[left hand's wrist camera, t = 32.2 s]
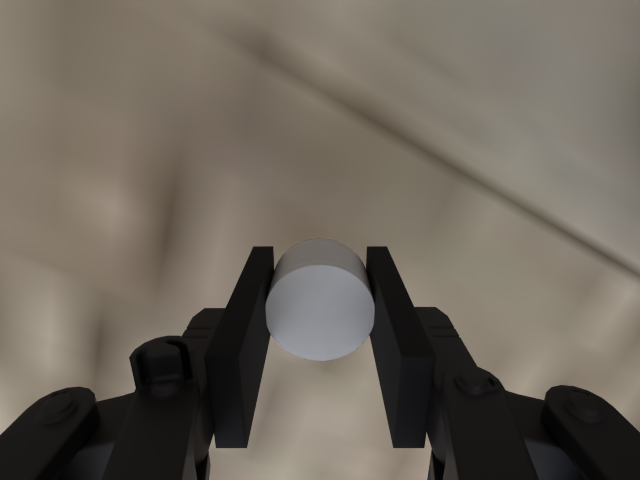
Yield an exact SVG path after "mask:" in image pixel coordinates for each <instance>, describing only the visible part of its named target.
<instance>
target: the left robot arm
mask: <svg viewBox="0 0 640 480" xmlns="http://www.w3.org/2000/svg"><path fill="white" fill-rule="evenodd" d="M366 272H367V276H368V280H369V284H370V287H371V291H372V295H373V299H374V303H375V313H374V325H373V328H372V330H371V333H370V339H371V343H372V348H373V353H374V358H375V362H376V367H377V372H378V377H379V382H380V386H381V391H382V396H383V401H384V405H385V410H386V415H387V420H388V424H389V429H390V434H391V439H392V444H393V448H424V446H425V438H426V431H427V434H428V438H429V441H430V444H431V447H432V451H431V458H430V465H429V472H428V479H427V480H640V432H639V431H638V430H637V429H636V428H635V427H634V426H633V425H632V424H630V423H629V422H628V421H627V420H626V419H625V418H624V417H623V416H622V415H621V414H620V413H619V412H618V411H617V410H616V409H615V408H614V407H613V406H612V405H610V404H609V403H608V402H607V401H605V400H604V399H603V398H601V397H599V396H597V395H595V394H593V393H591V392H590V391H587V390H584V389H581V388H578V387H574V386H565V385H559V386H555V387H551V388H550V389H549V390H548V391H547V392H546V395H545V399H544V400H541V399H536V398H532V397H527V396H523V395H519V394H515V393H512V392H509V391H506V390H505V389H504V387H503V385H502V384H501V382H500V381H499V379H497V378H496V377H495V376H494V375H492V374H491V373H490V372H488V371H486V370H484V369H482V368H479V367H477V365H476V364H475V362H474V360H473V359H472V357H471V355H470V353H469V352H468V350H467V348H466V347H465V345H464V343H463V341H462V340H461V338H460V337H459V335H458V333H457V331H456V330H455V329H454V326H453V324H452V323H451V321H450V319H449V318H448V316H447V315H446V314H444V313H443V312H442V311H440V310H439V309H438V308H436V307H414V306H413V304H412V301H411V299H410V297H409V295H408V292H407V290H406V288H405V286H404V284H403V281H402V279H401V277H400V275H399V272H398V270H397V268H396V266H395V264H394V261H393V259H392V257H391V255H390V253H389V250H388V248H387V247H367V259H366ZM273 274H274V254H273V247H253V249H252V251H251V253H250V255H249V258H248V260H247V262H246V264H245V266H244V269H243V271H242V273H241V275H240V278H239V280H238V282H237V284H236V286H235V289H234V291H233V293H232V295H231V297H230V300H229V302H228V304H227V306H226V308H204V309H203V310H202V311H200V312H199V313H198V314H196V315H195V316H194V317H193V318H192V320H191V321H190V323H189V325H188V326H187V330H185V332H184V333H183V335H182V337H181V336H164V337H159V338H155V339H153V340H150V341H148V342H146V343H144V344H142V345H141V346H139V347H138V348H137V349H135V350H134V352H133V353H132V354H131V356H130V357H129V358H130V363H131V367H132V372H133V377H134V381H135V386H136V389H135V392H133V393H130V394H127V395H124V396H120V397H115V398H111V399H107V400H102V401H98V402H97V401H96V398H95V394H94V393H93V392H92V391H91V390H90V389H88V388H83V387H71V388H65V389H62V390H58V391H55V392H52V393H50V394H49V395H47V396H45V397H43V398H41V399H39V400H38V401H36V402H35V403H34V404H33V405H31V406H30V407H29V408H28V409H26V410H25V411H24V412H23V413H22V414H21V415H20V416H19V417H18V418H17V419H16V420H15V421H14V422H13V423H12V424H11V425H10V426H9V427H8V428H7V429H6V430H5V431H4V432H3V433H2V434H1V435H0V480H209V474H210V458H209V451H208V450H209V446H210V443H211V440H212V437H213V434H214V436H215V444H216V448H247V445H248V440H249V435H250V430H251V426H252V421H253V416H254V411H255V407H256V402H257V397H258V392H259V387H260V383H261V378H262V373H263V368H264V364H265V359H266V354H267V349H268V345H269V340H270V335H271V334H270V332H269V330H268V327H267V324H266V307H265V304H266V300H267V296H268V292H269V289H270V285H271V281H272V278H273Z"/></svg>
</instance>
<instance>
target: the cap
mask: <svg viewBox="0 0 640 480" xmlns="http://www.w3.org/2000/svg"><path fill="white" fill-rule="evenodd" d="M265 307H266V324H267V327H268V330H269V332H270V334H271V335H272V337H273V338H274V340H275V341H276V342H277V343H278V344H279V345H280V346H281V347H282V348H283V349H285V350H286V351H288V352H289V353H291V354H293V355H295V356H298V357H301V358H304V359H308V360H316V361H325V360H333V359H337V358H340V357H343V356H345V355H347V354H349V353H351V352H353V351H354V350H356V349H357V348H358V347H359V346H361V345H362V344H363V342H364V341H365V340H366V339H367V337H368V336H369V334H370V333H371V330H372V328H373V325H374V313H375V303H374V299H373V295H372V291H371V287H370V284H369V280H368V276H367V272H366V269H365V266H364V264H363V262H362V260H361V259H360V257H359V256H358V255H357V254H356V253H355V252H354V251H353V250H352V249H350V248H349V247H347V246H346V245H344V244H342V243H340V242H337V241H334V240H329V239H312V240H307V241H303V242H301V243H299V244H296V245H295V246H293V247H291V248H290V249H289V250H288V251H286V252H285V254H284V255H283V256H282V257H281V258H280V260H279V261H278V263H277V265H276V268H275V271H274V274H273V278H272V281H271V285H270V289H269V292H268V296H267V300H266V304H265Z"/></svg>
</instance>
